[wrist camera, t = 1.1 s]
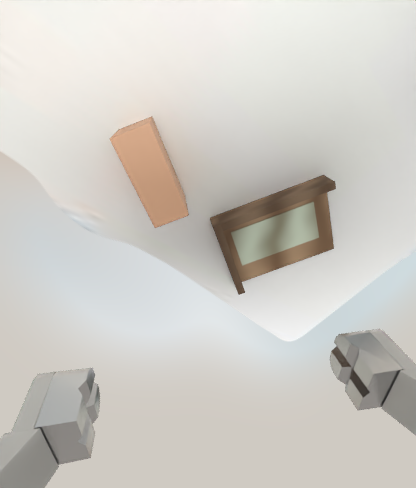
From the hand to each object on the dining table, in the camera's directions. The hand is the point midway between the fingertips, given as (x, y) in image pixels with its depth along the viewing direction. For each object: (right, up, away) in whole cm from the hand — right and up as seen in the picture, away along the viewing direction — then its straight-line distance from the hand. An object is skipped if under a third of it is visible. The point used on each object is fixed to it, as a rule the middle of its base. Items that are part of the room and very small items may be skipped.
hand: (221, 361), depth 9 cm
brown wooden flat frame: (+9, +5, +31) cm, 33 cm away
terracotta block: (-7, +13, +24) cm, 28 cm away
